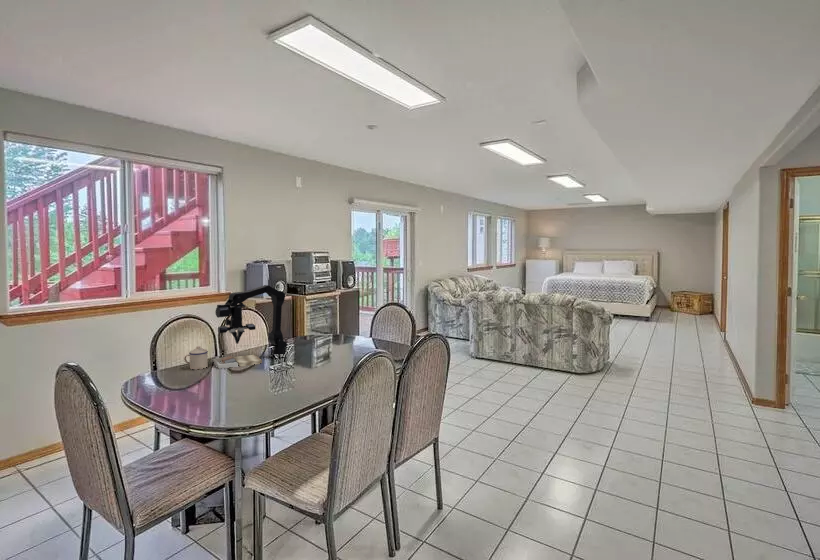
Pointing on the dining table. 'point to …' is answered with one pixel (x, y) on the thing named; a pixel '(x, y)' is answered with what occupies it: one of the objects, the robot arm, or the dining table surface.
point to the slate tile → (230, 361)
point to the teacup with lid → (197, 358)
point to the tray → (222, 365)
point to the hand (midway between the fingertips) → (237, 343)
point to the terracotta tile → (226, 358)
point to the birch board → (247, 360)
